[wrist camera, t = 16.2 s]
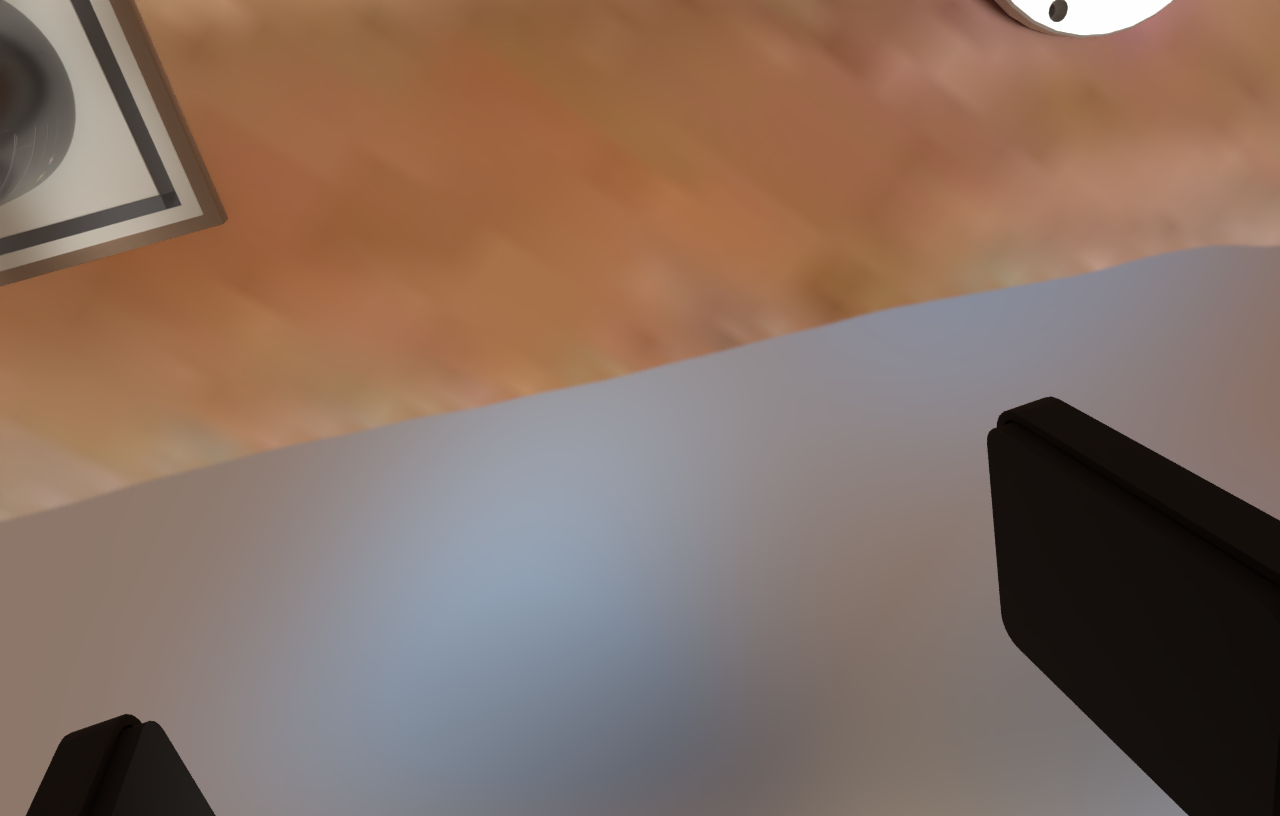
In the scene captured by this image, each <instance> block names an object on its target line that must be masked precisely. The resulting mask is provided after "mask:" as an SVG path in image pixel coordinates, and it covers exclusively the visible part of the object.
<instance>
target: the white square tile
mask: <svg viewBox="0 0 1280 816" xmlns="http://www.w3.org/2000/svg"><path fill="white" fill-rule="evenodd" d="M5 1H6V2H8V3H10V4H11V5H13V6H14V7H15V8H16V9H18V10H19V11H20V12H22V13H23V14H24V15H25V16H26V17H27V18H28V19H30V20H31V21H32V22H33V23H34V24H35V25H36V26H37V27H38V28H39V29H40V31H41V32H42V33H43V34H44V35H45V36H46V38H47V39H48V40H49V41H50V43H51V44H52V46H53V47H54V49H55V50H56V52H57V53H58V55H59V57H60V59H61V61H62V62H63V64H64V67H65V69H66V71H67V73H68V76H69V79H70V82H71V85H72V89H73V93H74V99H75V108H76V120H75V129H74V134H73V138H72V142H71V145H70V147H69V150H68V152H67V154H66V156H65V157H64V159H63V161H62V162H61V164H60V165H59V166H58V168H57V169H56V170H55V171H54V172H53V173H52V174H51V175H50V176H49V177H48V178H47V179H46V180H45V181H43V182H42V183H41V184H40V185H38V186H37V187H35V188H34V189H32V190H30V191H29V192H27V193H25V194H23V195H22V196H20V197H18V198H16V199H14V200H12V201H10V202H8V203H6V204H4V205H2V206H0V286H4V285H7V284H11V283H14V282H18V281H21V280H25V279H29V278H32V277H36V276H39V275H43V274H46V273H50V272H53V271H57V270H61V269H64V268H68V267H71V266H75V265H78V264H82V263H85V262H89V261H93V260H96V259H100V258H103V257H107V256H110V255H114V254H118V253H121V252H125V251H128V250H132V249H135V248H139V247H142V246H146V245H150V244H153V243H157V242H160V241H164V240H167V239H171V238H174V237H178V236H182V235H185V234H189V233H192V232H196V231H199V230H203V229H207V228H210V227H214V226H217V225H221V224H224V223H225V222H226V220H227V219H228V217H227V215H226V213H225V210H224V208H223V206H222V203H221V201H220V199H219V196H218V194H217V192H216V189H215V187H214V185H213V182H212V180H211V178H210V176H209V173H208V171H207V169H206V166H205V164H204V162H203V159H202V157H201V155H200V152H199V150H198V148H197V145H196V143H195V141H194V138H193V136H192V134H191V131H190V129H189V127H188V124H187V122H186V120H185V117H184V115H183V113H182V110H181V108H180V106H179V104H178V101H177V99H176V97H175V94H174V92H173V90H172V87H171V85H170V83H169V80H168V78H167V76H166V73H165V71H164V69H163V66H162V64H161V62H160V59H159V57H158V55H157V52H156V50H155V48H154V45H153V43H152V41H151V38H150V36H149V34H148V32H147V29H146V27H145V25H144V22H143V20H142V18H141V15H140V13H139V11H138V8H137V6H136V4H135V1H134V0H5Z"/></svg>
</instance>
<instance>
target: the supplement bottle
mask: <svg viewBox="0 0 1280 816" xmlns="http://www.w3.org/2000/svg"><path fill="white" fill-rule="evenodd" d="M75 120H76V108H75V99H74V93H73V89H72V85H71V82H70V79H69V76H68V73H67V71H66V69H65V67H64V64H63V62H62V61H61V59H60V57H59V55H58V53H57V52H56V50H55V49H54V47H53V46H52V44H51V43H50V41H49V40H48V39H47V38H46V36H45V35H44V34H43V33H42V32H41V31H40V29H39V28H38V27H37V26H36V25H35V24H34V23H33V22H32V21H31V20H30V19H28V18H27V17H26V16H25V15H24V14H23V13H22V12H20V11H19V10H18V9H16V8H15V7H14V6H13V5H11V4H10V3H8V2H6V1H5V0H0V206H2V205H4V204H6V203H8V202H10V201H12V200H14V199H16V198H18V197H20V196H22V195H23V194H25V193H27V192H29V191H30V190H32V189H34V188H35V187H37V186H38V185H40V184H41V183H42V182H43V181H45V180H46V179H47V178H48V177H49V176H50V175H51V174H52V173H53V172H54V171H55V170H56V169H57V168H58V166H59V165H60V164H61V162H62V161H63V159H64V157H65V156H66V154H67V152H68V150H69V147H70V145H71V142H72V138H73V134H74V129H75Z"/></svg>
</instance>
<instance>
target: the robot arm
mask: <svg viewBox="0 0 1280 816" xmlns="http://www.w3.org/2000/svg"><path fill="white" fill-rule="evenodd" d="M994 1H995V2H996V3H997V4H998V5H999V6H1000V7H1001V8H1002V9H1003V10H1004V11H1005V12H1006V13H1007V14H1008V15H1009V16H1011V17H1012V18H1014V19H1016V20H1017V21H1019V22H1021V23H1022V24H1024V25H1025V26H1027V27H1029V28H1030V29H1033V30H1036V31H1040V32H1043V33H1046V34H1049V35H1052V36H1062V37H1077V38H1081V37H1097V36H1106V35H1110V34H1113V33H1117V32H1120V31H1123V30H1127V29H1130V28H1132V27H1134V26H1136V25H1138V24H1140V23H1142V22H1143V21H1145V20H1147V19H1149V18H1151V17H1153V16H1155V15H1156V14H1157V13H1159V12H1160V11H1161V10H1162V9H1164V8H1165V7H1166V6H1168V5H1169V4H1170V3H1172V2H1173V1H1174V0H994ZM987 448H988V460H989V471H990V472H989V473H990V484H991V497H992V509H993V519H994V520H993V521H994V532H995V545H996V556H997V568H998V581H999V593H1000V605H1001V614H1002V620H1003V623H1004V626H1005V629H1006V631H1007V633H1008V635H1009V636H1010V638H1011V639H1012V641H1013V642H1014V644H1015V645H1016V646H1017V647H1018V648H1019V649H1020V650H1021V651H1022V652H1023V653H1024V654H1025V655H1026V656H1027V657H1028V658H1029V659H1030V660H1031V661H1032V662H1033V663H1034V664H1035V665H1036V666H1037V667H1038V668H1039V669H1040V670H1041V671H1042V672H1043V673H1044V674H1045V675H1046V676H1047V677H1048V678H1049V679H1050V680H1051V681H1052V682H1053V683H1054V684H1055V685H1056V686H1057V687H1058V688H1060V690H1062V692H1064V693H1065V695H1066V696H1068V697H1069V698H1070V699H1071V700H1072V701H1073V702H1074V703H1075V704H1076V705H1077V706H1078V707H1079V708H1080V709H1081V710H1082V711H1083V712H1084V713H1085V714H1086V715H1087V716H1088V717H1089V718H1090V719H1091V720H1092V721H1093V722H1094V723H1095V724H1096V725H1097V726H1098V727H1099V728H1100V729H1101V730H1102V731H1103V732H1104V733H1105V734H1106V735H1107V736H1108V737H1109V738H1110V739H1111V740H1112V741H1113V742H1114V743H1115V744H1116V745H1117V746H1118V747H1119V748H1120V749H1121V750H1122V751H1123V752H1124V753H1125V754H1127V755H1128V756H1129V757H1130V758H1131V759H1132V760H1133V761H1134V762H1135V763H1136V764H1137V765H1138V766H1139V767H1140V768H1141V769H1142V770H1143V771H1144V772H1145V773H1146V774H1147V775H1148V776H1149V777H1150V778H1151V779H1152V780H1153V781H1154V782H1155V783H1156V784H1157V785H1158V786H1159V787H1160V788H1161V789H1162V790H1163V791H1164V792H1165V793H1166V794H1167V795H1168V796H1169V797H1170V798H1171V799H1172V800H1173V801H1175V803H1176V804H1177V805H1178V806H1179V807H1180V808H1182V810H1183V811H1185V813H1187V814H1188V815H1189V816H1280V521H1279V520H1278V519H1276V518H1274V517H1272V516H1270V515H1269V514H1267V513H1265V512H1263V511H1261V510H1260V509H1258V508H1256V507H1254V506H1252V505H1250V504H1248V503H1247V502H1245V501H1243V500H1241V499H1239V498H1238V497H1236V496H1234V495H1232V494H1230V493H1228V492H1227V491H1225V490H1223V489H1221V488H1220V487H1218V486H1216V485H1214V484H1212V483H1210V482H1208V481H1207V480H1205V479H1203V478H1201V477H1200V476H1198V475H1196V474H1194V473H1192V472H1190V471H1189V470H1187V469H1185V468H1183V467H1181V466H1180V465H1178V464H1176V463H1174V462H1172V461H1170V460H1169V459H1167V458H1165V457H1163V456H1161V455H1159V454H1158V453H1156V452H1154V451H1152V450H1150V449H1149V448H1147V447H1145V446H1143V445H1141V444H1139V443H1138V442H1136V441H1134V440H1132V439H1130V438H1129V437H1127V436H1125V435H1123V434H1121V433H1120V432H1118V431H1116V430H1114V429H1112V428H1110V427H1109V426H1107V425H1105V424H1103V423H1101V422H1099V421H1098V420H1096V419H1094V418H1092V417H1090V416H1089V415H1087V414H1085V413H1083V412H1081V411H1080V410H1077V409H1076V408H1074V407H1072V406H1070V405H1069V404H1067V403H1065V402H1063V401H1061V400H1060V399H1057V398H1054V397H1046V398H1042V399H1040V400H1036V401H1034V402H1030V403H1028V404H1025V405H1022V406H1019V407H1016V408H1013V409H1010V410H1007V411H1004V412H1003V413H1002V414H1001V415H1000V416H999V418H998V421H997V428H994V429H992V430H991V431H990V432H989V434H988V437H987ZM26 816H215V814H214V812H213V811H212V809H211V808H210V806H209V804H208V803H207V801H206V799H205V798H204V796H203V794H202V793H201V791H200V789H199V788H198V786H197V784H196V783H195V781H194V779H193V778H192V776H191V774H190V773H189V771H188V770H187V768H186V766H185V765H184V763H183V761H182V760H181V758H180V756H179V755H178V753H177V751H176V750H175V748H174V746H173V745H172V743H171V742H170V740H169V738H168V737H167V735H166V733H165V731H164V730H163V729H162V727H161V726H160V725H159V724H158V723H156V722H155V721H148V722H145V723H141V722H140V720H139V719H137V718H136V717H135V716H133V715H129V714H124V715H121V716H118V717H116V718H113V719H110V720H107V721H104V722H101V723H98V724H95V725H92V726H89V727H86V728H84V729H81V730H78V731H75V732H72V733H70V734H68V735H66V736H65V737H64V738H63V739H62V741H61V742H60V744H59V746H58V748H57V750H56V752H55V754H54V756H53V758H52V761H51V763H50V765H49V767H48V769H47V772H46V773H45V776H44V778H43V780H42V782H41V785H40V786H39V788H38V791H37V793H36V795H35V797H34V799H33V801H32V803H31V806H30V808H29V810H28V812H27V814H26Z"/></svg>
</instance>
